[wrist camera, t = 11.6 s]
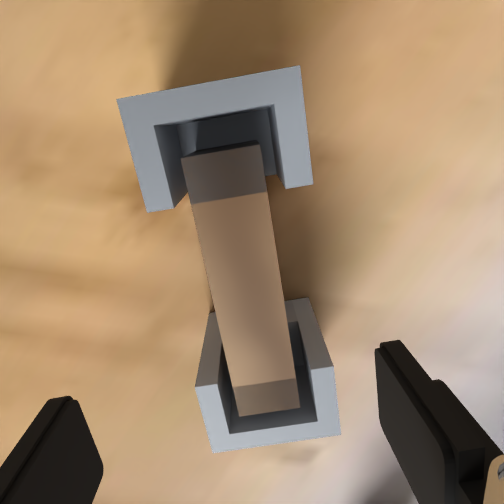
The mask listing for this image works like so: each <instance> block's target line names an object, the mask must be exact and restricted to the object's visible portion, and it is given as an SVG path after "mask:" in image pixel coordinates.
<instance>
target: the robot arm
mask: <svg viewBox="0 0 504 504" xmlns="http://www.w3.org/2000/svg"><path fill="white" fill-rule="evenodd" d="M375 365H376V379H377V393H378V407H379V419H380V424H381V427H382V429H383V432H384V434H385V436H386V438H387V440H388V442H389V444H390V446H391V448H392V450H393V452H394V454H395V456H396V458H397V460H398V462H399V464H400V466H401V468H402V470H403V472H404V474H405V476H406V478H407V480H408V482H409V484H410V486H411V488H412V490H413V493H414V495H415V497H416V499H417V501H418V503H419V504H504V454H503V452H502V451H501V450H500V449H499V448H498V446H497V445H496V444H495V443H494V442H493V440H492V439H491V438H490V437H489V436H488V434H487V433H486V432H485V431H484V430H483V428H482V427H481V426H480V425H479V424H478V422H477V421H476V420H475V419H474V418H473V416H472V415H471V414H470V413H469V412H468V410H467V409H466V408H465V407H464V406H463V405H462V403H461V402H460V401H459V400H458V399H457V397H456V396H455V395H454V394H453V393H452V391H451V390H450V389H449V388H448V387H447V385H446V384H445V383H444V382H443V381H441V380H439V379H438V380H431V378H430V377H429V376H428V374H427V373H426V372H425V371H424V369H423V368H422V367H421V366H420V364H419V363H418V362H417V361H416V359H415V358H414V357H413V356H412V354H411V353H410V352H409V351H408V349H407V348H406V347H405V346H404V344H403V343H402V342H401V341H400V340H395V341H389V342H383V343H380V348H377V349H375ZM102 476H103V463H102V460H101V458H100V455H99V453H98V450H97V448H96V445H95V443H94V440H93V438H92V435H91V433H90V430H89V427H88V425H87V422H86V420H85V417H84V415H83V412H82V410H81V407H80V405H79V403H78V401H77V400H73V398H72V397H71V396H65V397H59V398H53V399H50V400H48V401H47V402H46V404H45V405H44V406H43V408H42V409H41V411H40V412H39V413H38V415H37V416H36V418H35V419H34V421H33V422H32V423H31V425H30V426H29V428H28V429H27V430H26V432H25V433H24V435H23V436H22V437H21V439H20V440H19V442H18V443H17V445H16V446H15V447H14V449H13V450H12V452H11V453H10V454H9V456H8V457H7V459H6V460H5V461H4V463H3V464H2V466H1V467H0V504H92V502H93V500H94V497H95V495H96V492H97V489H98V487H99V484H100V482H101V479H102Z"/></svg>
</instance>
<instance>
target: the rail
mask: <svg viewBox="0 0 504 504" xmlns="http://www.w3.org/2000/svg"><path fill="white" fill-rule="evenodd" d="M180 159H181V163H182V168H183V172H184V176H185V181H186V185H187V189H188V194H189V198H190V203H191V207H192V211H193V216H194V220H195V225H196V229H197V233H198V238H199V242H200V246H201V251H202V255H203V260H204V264H205V268H206V273H207V277H208V282H209V286H210V290H211V295H212V299H213V304H214V308H215V312H216V317H217V321H218V325H219V330H220V334H221V339H222V343H223V347H224V352H225V356H226V361H227V365H228V369H229V374H230V378H231V383H232V387H233V391H234V396H235V400H236V404H237V409H238V413H239V417H241V416H248V415H254V414H261V413H268V412H275V411H282V410H289V409H296V408H301V407H300V401H299V394H298V388H297V382H296V375H295V369H294V362H293V356H292V349H291V343H290V336H289V330H288V323H287V317H286V310H285V304H284V297H283V291H282V284H281V278H280V271H279V265H278V258H277V252H276V245H275V239H274V232H273V226H272V219H271V213H270V206H269V200H268V193H267V187H266V180H265V174H264V167H263V161H262V154H261V148H260V144H259V142H258V141H257V140H253V141H247V142H241V143H236V144H230V145H224V146H219V147H213V148H207V149H202V150H196V151H194V152H192V153H190V154H188V155H186V156H184V157H182V158H180Z"/></svg>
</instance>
